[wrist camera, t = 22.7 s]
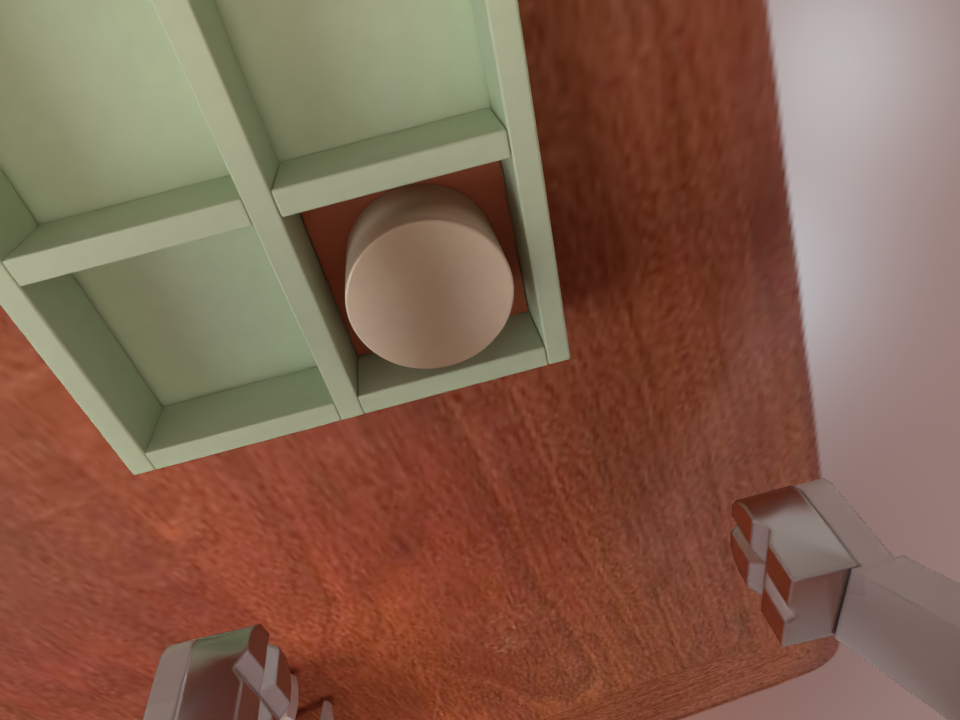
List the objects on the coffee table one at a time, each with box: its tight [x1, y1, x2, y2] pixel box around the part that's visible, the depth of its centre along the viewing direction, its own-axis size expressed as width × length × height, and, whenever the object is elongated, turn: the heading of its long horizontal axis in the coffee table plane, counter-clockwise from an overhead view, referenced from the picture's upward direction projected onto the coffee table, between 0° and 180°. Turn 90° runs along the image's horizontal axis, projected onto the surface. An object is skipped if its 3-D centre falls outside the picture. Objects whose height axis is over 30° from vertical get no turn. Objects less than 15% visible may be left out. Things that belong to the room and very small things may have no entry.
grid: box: [0, 0, 570, 475], centre depth 18 cm, size 15×15×3 cm
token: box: [345, 184, 514, 369], centre depth 20 cm, size 5×5×3 cm
